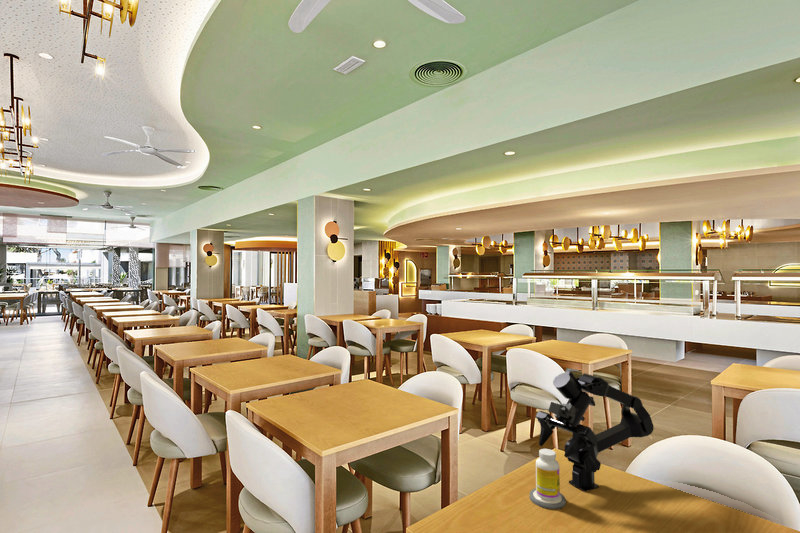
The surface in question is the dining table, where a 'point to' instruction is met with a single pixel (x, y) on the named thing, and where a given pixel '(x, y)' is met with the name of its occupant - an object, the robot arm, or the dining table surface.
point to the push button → (545, 503)
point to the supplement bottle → (547, 475)
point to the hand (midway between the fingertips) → (552, 451)
